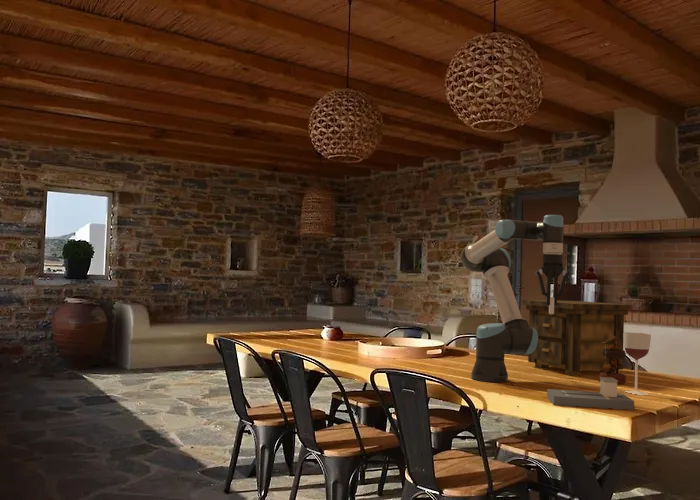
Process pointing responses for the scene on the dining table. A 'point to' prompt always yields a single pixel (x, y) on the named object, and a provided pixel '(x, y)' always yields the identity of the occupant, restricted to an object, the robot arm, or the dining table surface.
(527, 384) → the dining table surface
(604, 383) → the fader tab
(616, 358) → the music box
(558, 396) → the fader console
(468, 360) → the dining table surface
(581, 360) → the wooden cabinet
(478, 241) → the robot arm
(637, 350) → the wineglass
